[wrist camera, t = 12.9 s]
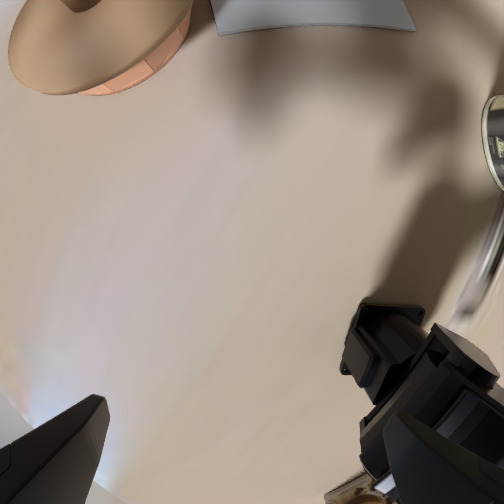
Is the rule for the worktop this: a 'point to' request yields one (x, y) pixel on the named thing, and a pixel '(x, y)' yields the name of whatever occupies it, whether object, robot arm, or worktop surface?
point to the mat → (309, 14)
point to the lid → (87, 40)
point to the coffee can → (494, 137)
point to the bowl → (145, 63)
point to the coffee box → (358, 493)
